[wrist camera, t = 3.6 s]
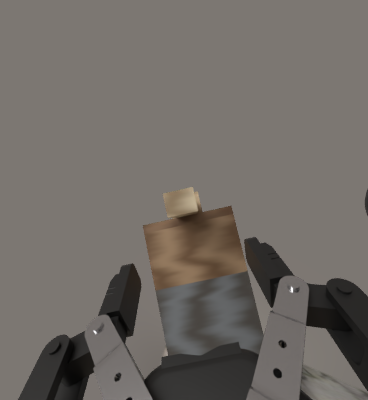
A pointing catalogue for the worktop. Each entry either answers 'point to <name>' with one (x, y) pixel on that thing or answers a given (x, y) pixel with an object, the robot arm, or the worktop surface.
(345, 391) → the worktop surface
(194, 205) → the wooden key
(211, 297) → the grey tall block
